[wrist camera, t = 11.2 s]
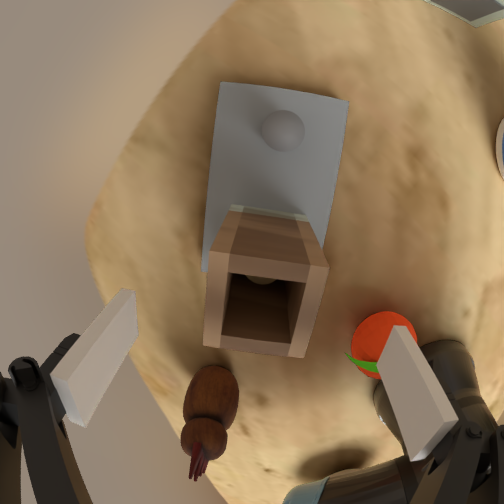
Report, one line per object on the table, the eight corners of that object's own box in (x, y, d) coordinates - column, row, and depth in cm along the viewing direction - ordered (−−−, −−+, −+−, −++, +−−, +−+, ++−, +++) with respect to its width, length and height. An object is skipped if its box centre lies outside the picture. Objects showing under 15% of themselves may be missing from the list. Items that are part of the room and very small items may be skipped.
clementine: (330, 350, 32) (341, 397, 25) (342, 297, 29) (359, 341, 22) (393, 349, 31) (413, 391, 25) (410, 298, 29) (438, 338, 22)
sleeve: (292, 281, 26) (303, 358, 17) (224, 271, 26) (202, 345, 17) (306, 215, 24) (329, 267, 15) (231, 204, 24) (209, 250, 15)
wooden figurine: (197, 351, 32) (165, 465, 18) (246, 364, 33) (236, 481, 19) (188, 387, 35) (161, 488, 21) (232, 399, 35) (219, 502, 21)
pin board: (310, 276, 28) (322, 318, 22) (205, 262, 28) (187, 300, 22) (343, 103, 22) (369, 93, 16) (224, 85, 22) (208, 68, 16)
